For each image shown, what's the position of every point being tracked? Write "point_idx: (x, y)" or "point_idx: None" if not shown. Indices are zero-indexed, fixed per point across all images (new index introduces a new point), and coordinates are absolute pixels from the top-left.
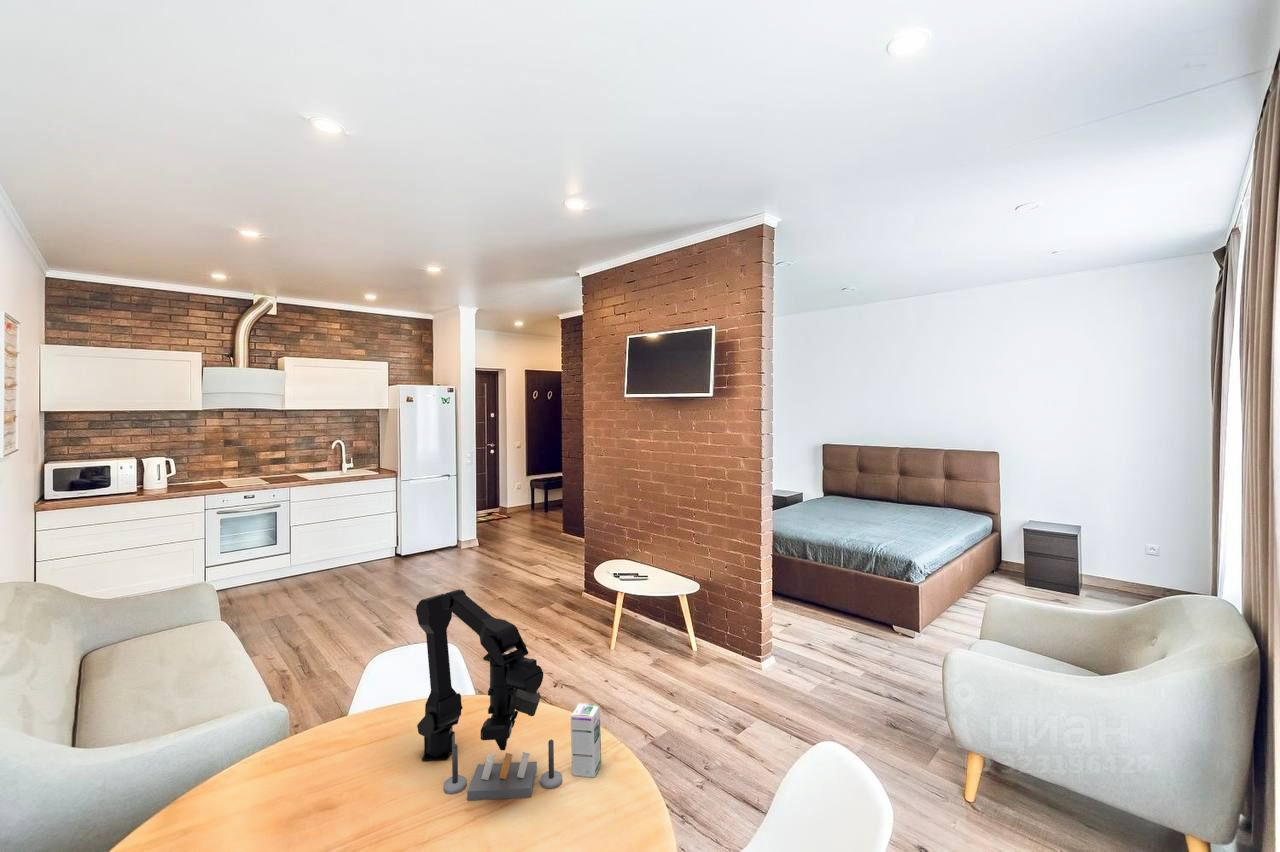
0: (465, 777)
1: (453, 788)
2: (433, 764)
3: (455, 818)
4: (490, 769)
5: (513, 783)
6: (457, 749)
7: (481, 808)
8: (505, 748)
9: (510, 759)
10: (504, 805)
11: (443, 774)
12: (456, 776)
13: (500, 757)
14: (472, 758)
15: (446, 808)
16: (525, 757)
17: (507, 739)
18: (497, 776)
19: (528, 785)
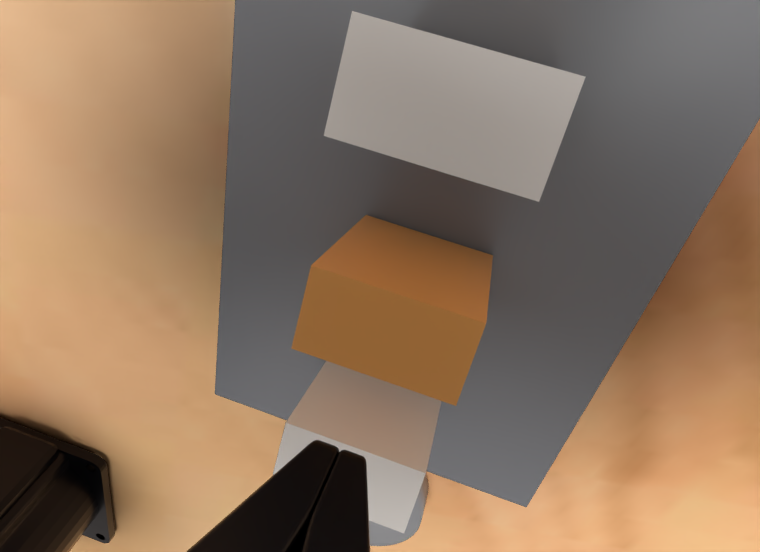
0: None
1: (417, 520)
2: (141, 505)
3: (684, 531)
4: (433, 434)
5: (594, 196)
6: None
7: (672, 404)
8: (366, 476)
9: (429, 313)
10: (747, 260)
11: (230, 491)
12: None
13: (76, 193)
14: (90, 353)
15: (552, 541)
16: (478, 114)
17: (246, 523)
18: None
19: (739, 31)
